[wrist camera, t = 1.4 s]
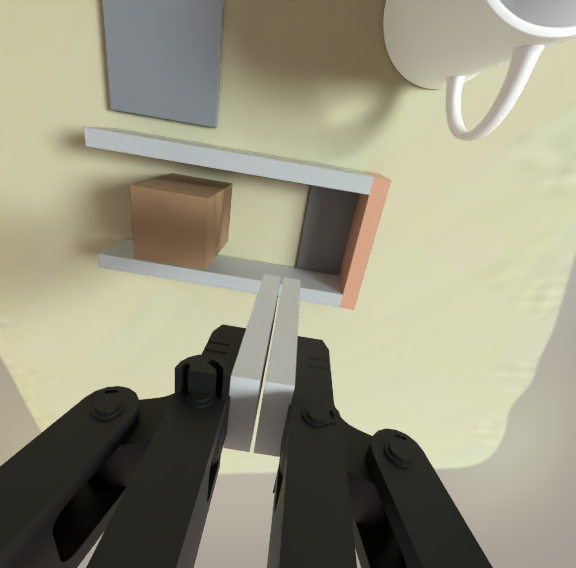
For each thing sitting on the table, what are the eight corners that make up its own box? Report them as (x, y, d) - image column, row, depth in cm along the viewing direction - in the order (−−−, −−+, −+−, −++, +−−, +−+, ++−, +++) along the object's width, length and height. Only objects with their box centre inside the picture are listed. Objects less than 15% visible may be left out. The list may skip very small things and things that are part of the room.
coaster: (105, -26, 21) (99, -31, 20) (224, -5, 21) (222, -9, 20) (115, 109, 24) (110, 109, 24) (217, 127, 24) (215, 127, 24)
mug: (473, 145, 24) (610, 151, 13) (361, 132, 24) (405, 129, 13) (542, -69, 19) (857, -345, 8) (400, -83, 19) (523, -376, 8)
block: (173, 173, 26) (130, 185, 20) (232, 183, 26) (208, 198, 20) (173, 231, 28) (134, 258, 22) (228, 240, 28) (205, 270, 22)
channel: (116, 128, 25) (83, 126, 21) (379, 173, 25) (391, 180, 22) (125, 251, 29) (99, 267, 26) (348, 288, 30) (354, 309, 26)
